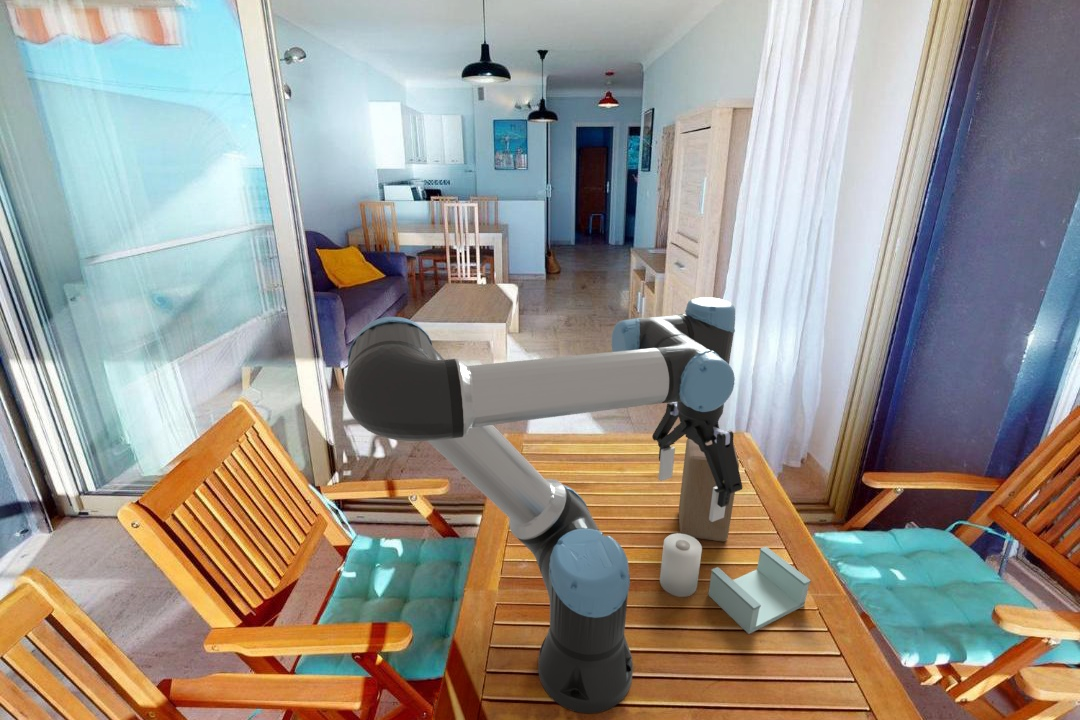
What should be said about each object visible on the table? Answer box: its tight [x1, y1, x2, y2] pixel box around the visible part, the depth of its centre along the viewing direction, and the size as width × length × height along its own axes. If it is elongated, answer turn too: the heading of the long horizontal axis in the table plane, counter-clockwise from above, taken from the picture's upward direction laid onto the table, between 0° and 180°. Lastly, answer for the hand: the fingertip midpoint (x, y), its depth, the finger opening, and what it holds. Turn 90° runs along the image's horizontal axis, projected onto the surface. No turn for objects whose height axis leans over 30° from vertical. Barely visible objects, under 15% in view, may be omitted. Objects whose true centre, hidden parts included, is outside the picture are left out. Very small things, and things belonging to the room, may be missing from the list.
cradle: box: [707, 546, 812, 635], centre depth 102 cm, size 14×10×6 cm
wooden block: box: [678, 438, 740, 542], centre depth 120 cm, size 10×10×20 cm
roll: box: [659, 532, 703, 598], centre depth 106 cm, size 7×7×9 cm
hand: (689, 497), depth 100 cm, fingers open, 13 cm apart
